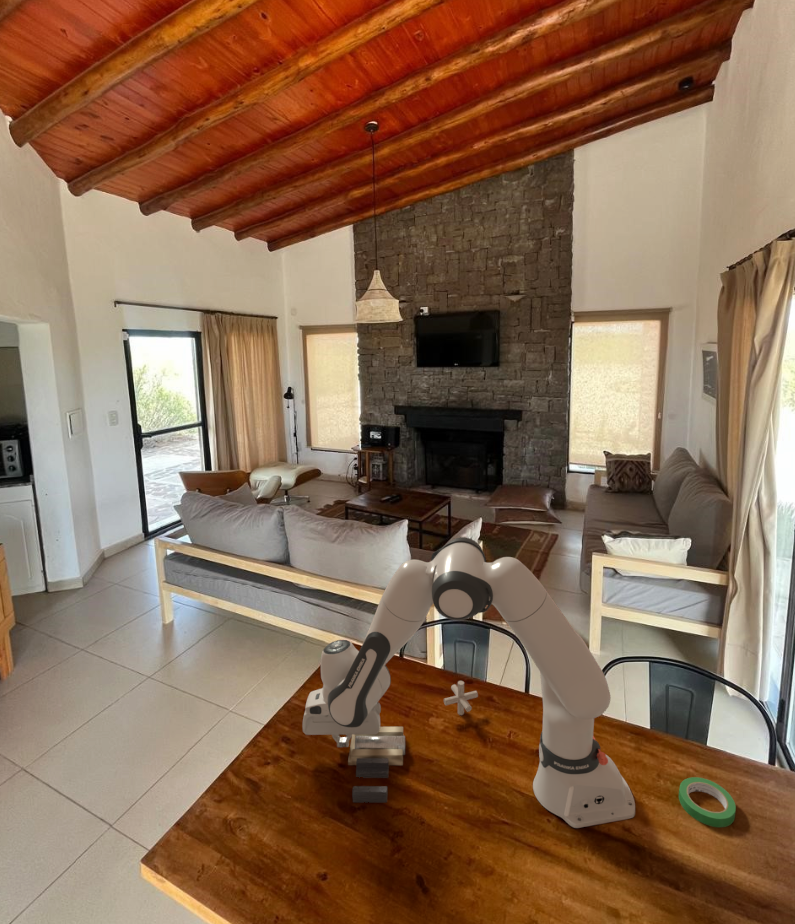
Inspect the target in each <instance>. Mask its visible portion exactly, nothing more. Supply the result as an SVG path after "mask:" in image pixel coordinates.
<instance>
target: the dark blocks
mask: <svg viewBox="0 0 795 924" xmlns="http://www.w3.org/2000/svg"><path fill="white" fill-rule="evenodd" d="M355 766H356V768H355V778H356V777H359V778H358V779H361V778H360V777H363V778H362V779H389V775H390V774H389V773H390V771H389V770H390V765H389V758H357V761H356V765H355ZM351 792H352V793H351V794H352V803H364V802H365V803H368V802H369V803H373V804H375V803H377V804H378V803H383V804H385V803H388V786H387V785H385V786H383V785H376V786H375V785H354V786H352V791H351ZM369 803H368V804H369Z"/></svg>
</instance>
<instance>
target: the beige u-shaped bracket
mask: <svg viewBox="0 0 795 924" xmlns="http://www.w3.org/2000/svg"><path fill="white" fill-rule="evenodd" d="M356 736H404V726H380V731H379V732H378V733H377V734H356V735H352V737H351V739H350V746H349V747H350V748H349V753H348V760H347V765H348V766H356V761H357V758H389V766H403V765H404V755H403V749H355V737H356Z"/></svg>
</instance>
